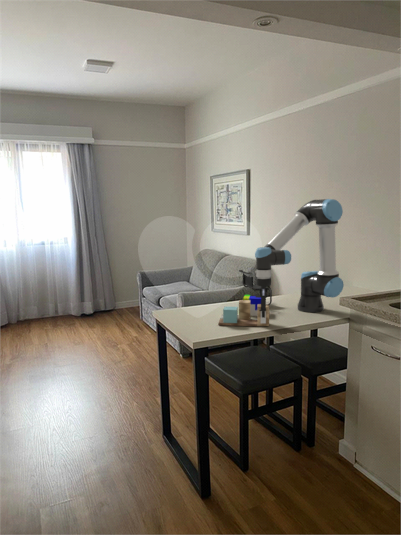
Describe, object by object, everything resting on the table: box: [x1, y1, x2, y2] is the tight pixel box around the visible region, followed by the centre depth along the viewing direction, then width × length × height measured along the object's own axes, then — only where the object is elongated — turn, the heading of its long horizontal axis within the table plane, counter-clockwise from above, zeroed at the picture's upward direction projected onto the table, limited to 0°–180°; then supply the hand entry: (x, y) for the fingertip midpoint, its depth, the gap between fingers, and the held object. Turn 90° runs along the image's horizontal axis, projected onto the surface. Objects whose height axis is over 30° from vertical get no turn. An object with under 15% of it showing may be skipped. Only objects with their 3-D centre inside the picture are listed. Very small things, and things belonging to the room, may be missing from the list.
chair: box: [238, 269, 273, 306], centre depth 252 cm, size 13×17×22 cm
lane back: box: [219, 299, 251, 320], centre depth 219 cm, size 16×8×10 cm, turn 81°
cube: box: [222, 306, 239, 323], centre depth 210 cm, size 7×7×7 cm
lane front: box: [217, 303, 270, 327], centre depth 209 cm, size 26×8×10 cm, turn 81°
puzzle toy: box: [242, 294, 261, 317], centre depth 231 cm, size 10×10×10 cm
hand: (263, 321), depth 208 cm, fingers closed on lane front, 6 cm apart
